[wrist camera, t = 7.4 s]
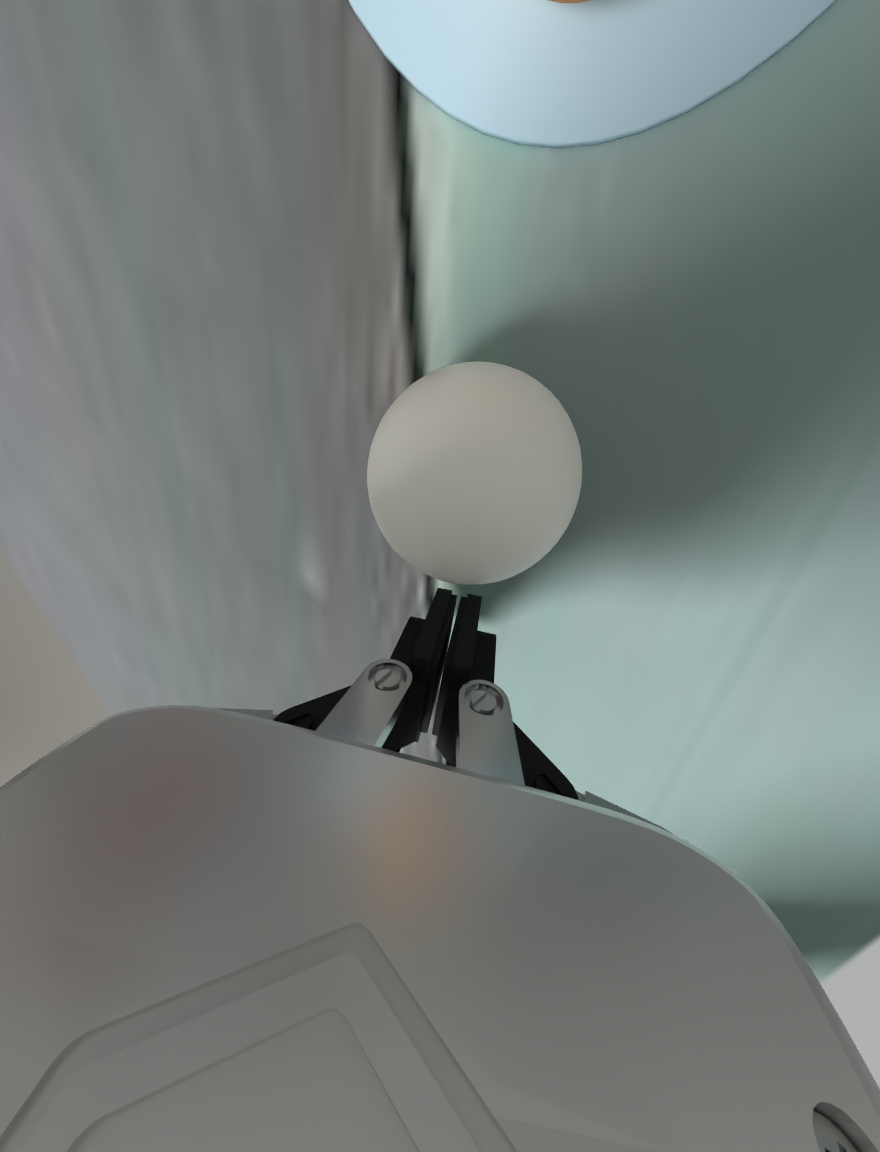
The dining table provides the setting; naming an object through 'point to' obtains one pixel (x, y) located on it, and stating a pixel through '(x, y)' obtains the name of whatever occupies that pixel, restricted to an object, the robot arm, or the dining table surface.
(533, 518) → the white egg
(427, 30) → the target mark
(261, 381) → the dining table surface
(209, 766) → the robot arm
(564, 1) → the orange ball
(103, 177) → the dining table surface
